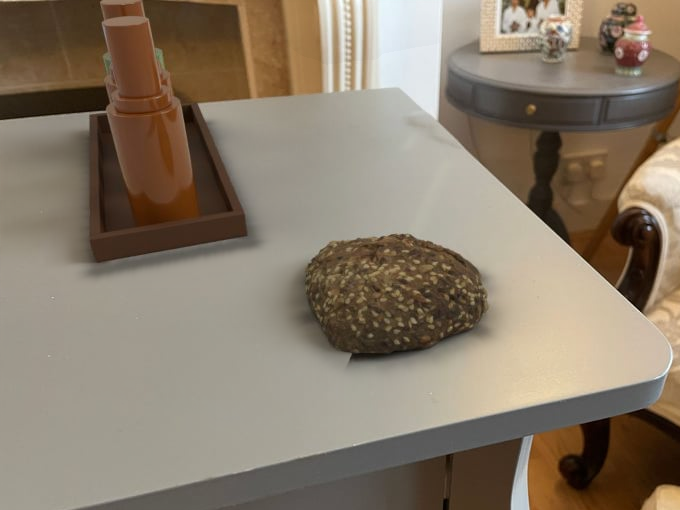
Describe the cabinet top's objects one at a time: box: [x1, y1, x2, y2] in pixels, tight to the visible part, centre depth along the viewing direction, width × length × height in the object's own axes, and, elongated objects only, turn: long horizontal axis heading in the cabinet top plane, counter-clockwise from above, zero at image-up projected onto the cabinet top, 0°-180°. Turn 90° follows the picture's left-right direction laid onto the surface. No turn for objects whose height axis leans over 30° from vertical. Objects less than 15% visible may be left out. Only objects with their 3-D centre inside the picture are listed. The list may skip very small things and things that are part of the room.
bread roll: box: [304, 233, 490, 355], centre depth 45 cm, size 13×12×5 cm
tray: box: [88, 101, 248, 264], centre depth 62 cm, size 30×12×3 cm, turn 21°
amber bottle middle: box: [99, 0, 175, 104], centre depth 57 cm, size 5×5×16 cm
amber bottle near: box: [101, 16, 201, 228], centre depth 51 cm, size 5×5×16 cm
